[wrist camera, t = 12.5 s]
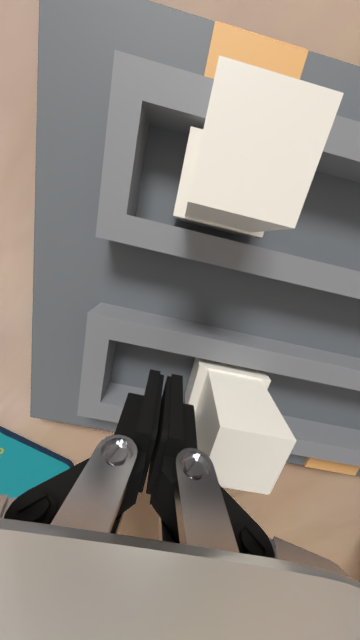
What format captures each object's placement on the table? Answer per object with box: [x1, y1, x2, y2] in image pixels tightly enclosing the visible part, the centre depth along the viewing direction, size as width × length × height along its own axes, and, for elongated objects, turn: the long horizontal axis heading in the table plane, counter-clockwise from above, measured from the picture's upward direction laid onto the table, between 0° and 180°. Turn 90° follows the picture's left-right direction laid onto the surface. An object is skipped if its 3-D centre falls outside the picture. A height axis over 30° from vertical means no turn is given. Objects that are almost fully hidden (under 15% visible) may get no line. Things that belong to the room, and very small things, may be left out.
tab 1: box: [173, 55, 344, 238], centre depth 9 cm, size 4×3×6 cm
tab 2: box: [185, 357, 296, 495], centre depth 12 cm, size 4×3×6 cm
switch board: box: [30, 0, 360, 475], centre depth 13 cm, size 30×22×3 cm
